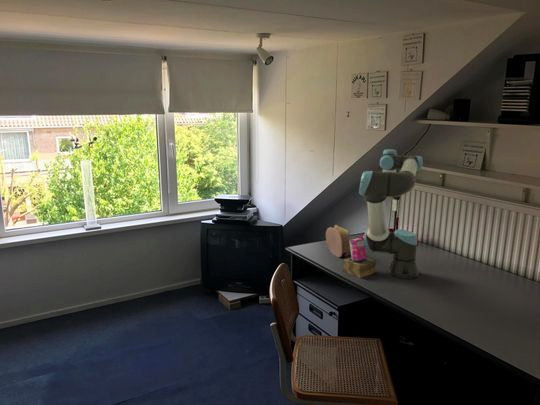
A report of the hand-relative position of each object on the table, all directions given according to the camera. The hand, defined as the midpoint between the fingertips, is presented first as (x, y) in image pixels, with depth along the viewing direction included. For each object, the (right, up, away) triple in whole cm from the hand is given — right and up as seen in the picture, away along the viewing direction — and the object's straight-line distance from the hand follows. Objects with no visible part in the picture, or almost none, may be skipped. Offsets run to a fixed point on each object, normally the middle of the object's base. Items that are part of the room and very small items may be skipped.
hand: (386, 212), depth 259 cm
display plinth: (-20, -32, -20) cm, 43 cm away
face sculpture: (-28, -26, +9) cm, 39 cm away
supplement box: (-21, -26, -21) cm, 39 cm away
